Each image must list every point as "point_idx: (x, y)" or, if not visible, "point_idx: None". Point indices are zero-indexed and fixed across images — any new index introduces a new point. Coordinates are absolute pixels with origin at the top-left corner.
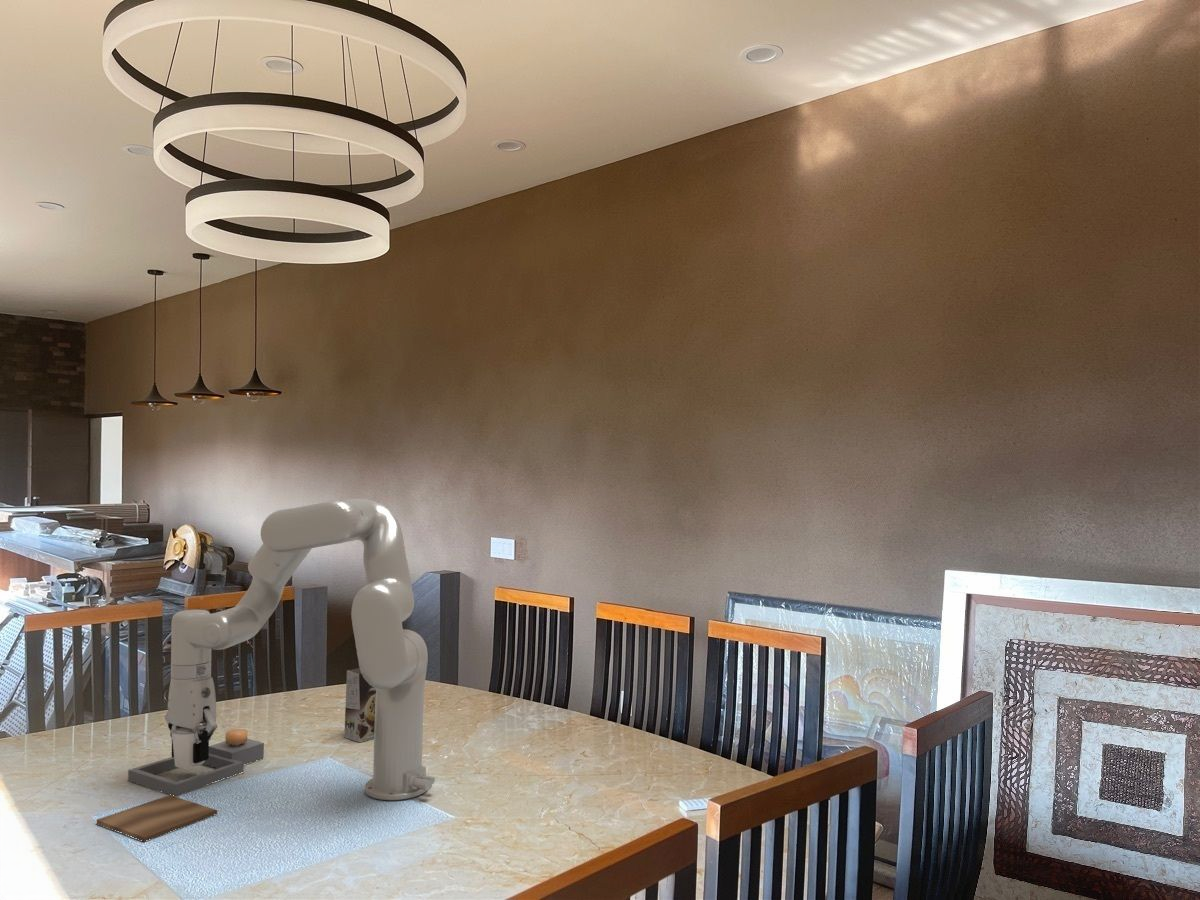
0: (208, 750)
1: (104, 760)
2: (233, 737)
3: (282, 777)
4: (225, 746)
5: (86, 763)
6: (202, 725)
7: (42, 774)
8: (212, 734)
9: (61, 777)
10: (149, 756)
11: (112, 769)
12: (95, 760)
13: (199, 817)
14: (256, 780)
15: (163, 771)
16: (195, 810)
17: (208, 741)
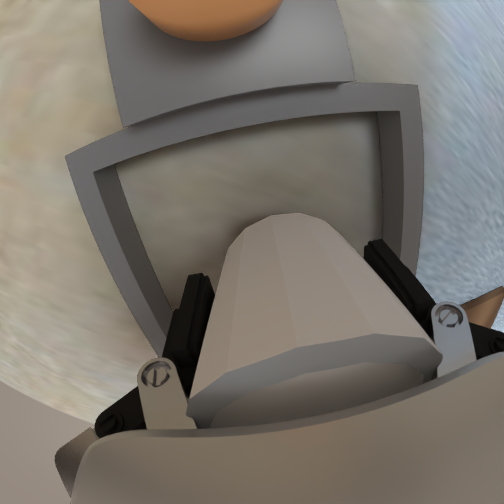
0: (399, 260)
1: (17, 329)
2: (271, 3)
3: (487, 61)
4: (200, 47)
5: (29, 352)
6: (314, 368)
7: (69, 400)
8: (500, 332)
9: (93, 398)
10: (9, 257)
11: (75, 346)
12: (15, 337)
13: (494, 317)
14: (468, 114)
15: (159, 285)
16: (481, 317)
17: (426, 294)
